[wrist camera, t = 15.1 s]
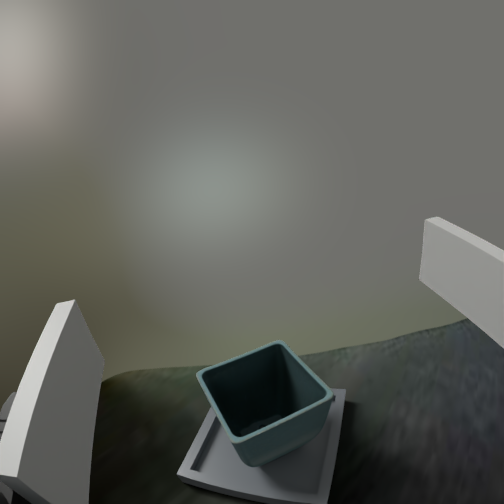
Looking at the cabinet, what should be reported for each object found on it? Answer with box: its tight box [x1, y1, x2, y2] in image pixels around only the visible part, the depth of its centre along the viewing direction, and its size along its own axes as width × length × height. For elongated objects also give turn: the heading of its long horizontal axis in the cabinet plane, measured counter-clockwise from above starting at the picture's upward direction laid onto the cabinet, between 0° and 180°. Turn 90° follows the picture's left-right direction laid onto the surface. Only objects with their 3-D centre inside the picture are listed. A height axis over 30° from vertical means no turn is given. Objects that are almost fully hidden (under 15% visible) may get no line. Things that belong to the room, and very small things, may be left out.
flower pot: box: [196, 340, 334, 467], centre depth 26 cm, size 9×9×9 cm
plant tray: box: [177, 388, 346, 504], centre depth 28 cm, size 14×14×2 cm
